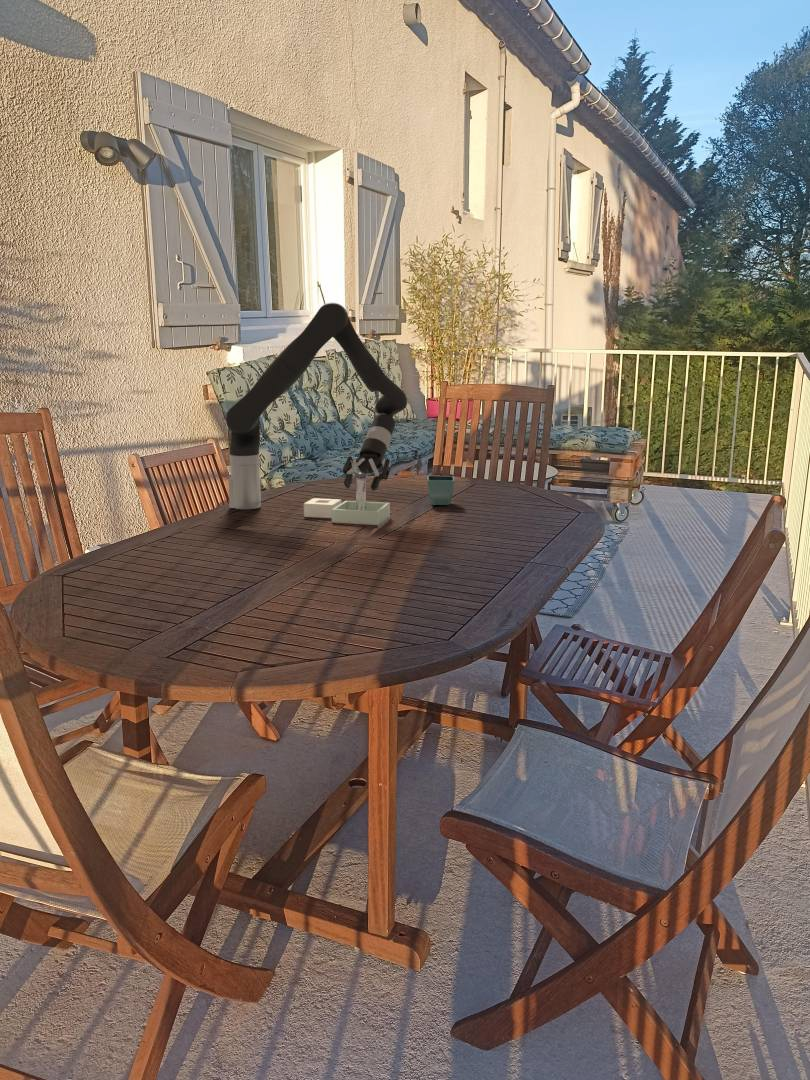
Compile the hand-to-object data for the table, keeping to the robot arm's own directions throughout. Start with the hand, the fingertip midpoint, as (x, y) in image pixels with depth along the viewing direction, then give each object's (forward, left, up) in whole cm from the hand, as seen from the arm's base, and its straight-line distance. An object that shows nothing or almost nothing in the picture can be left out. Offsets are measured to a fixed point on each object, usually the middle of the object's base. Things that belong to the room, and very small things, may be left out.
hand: (359, 488), depth 248 cm
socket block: (-13, +4, -10) cm, 17 cm away
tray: (0, +1, -10) cm, 10 cm away
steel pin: (0, +1, -10) cm, 10 cm away
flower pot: (+18, +33, -11) cm, 39 cm away
